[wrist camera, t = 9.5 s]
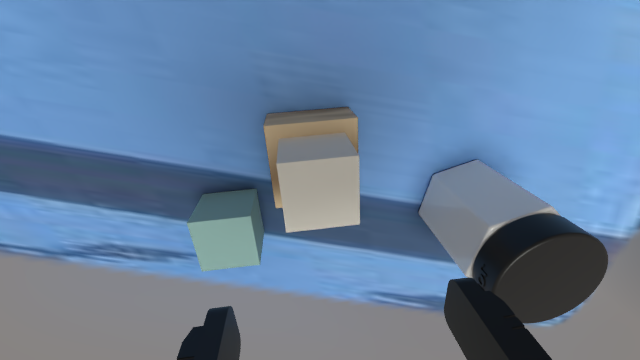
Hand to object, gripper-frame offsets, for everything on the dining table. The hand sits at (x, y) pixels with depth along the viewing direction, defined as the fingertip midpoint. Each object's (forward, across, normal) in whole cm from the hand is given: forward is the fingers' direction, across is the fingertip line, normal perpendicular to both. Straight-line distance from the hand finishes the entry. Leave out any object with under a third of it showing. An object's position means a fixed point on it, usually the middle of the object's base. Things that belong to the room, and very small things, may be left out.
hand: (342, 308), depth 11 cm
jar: (+18, -15, +7) cm, 25 cm away
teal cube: (+18, +8, +6) cm, 20 cm away
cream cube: (+14, 0, 0) cm, 14 cm away
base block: (+18, 0, 0) cm, 18 cm away
